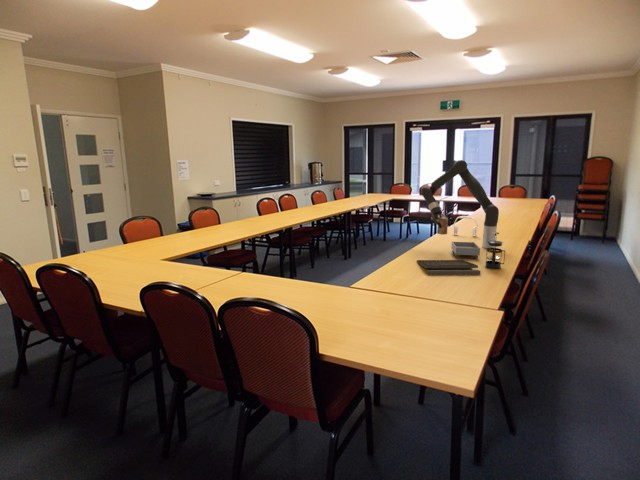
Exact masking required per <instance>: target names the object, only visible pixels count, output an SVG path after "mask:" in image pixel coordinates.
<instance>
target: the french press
mask: <svg viewBox="0 0 640 480" xmlns="http://www.w3.org/2000/svg"><path fill="white" fill-rule="evenodd" d="M493 234H495V241H488V243H489V245H490V246H494V248H486V255H485V266H484V267H485V268H486V269H489V270H500V269H501V268H502V267H501V265H505V262H503V263H502V261H501V260H502V255H503V260H505V258H506V257H505V256H506V250H504V249H502V248H499V247H502V246H503V243H504V242H502V241H501V240H497V238H496V236H497V235H499V234H500V232H497V231H496V232H493ZM495 247H496V248H495ZM497 247H498V248H497ZM503 252H504V253H503ZM488 253H491V255H490V256H487V255H488ZM502 253H503V254H502ZM496 254H500V257H499V256H497V255H496Z"/></svg>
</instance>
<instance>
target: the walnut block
mask: <svg viewBox="0 0 640 480" xmlns="http://www.w3.org/2000/svg"><path fill="white" fill-rule="evenodd" d="M438 219H439V222H440V224H441V226H442V227H441V228H439V227H438V226H437V234H438V235H442V236H443V235H447V234H448V227H449V224H448V222H449V217H448V218H445V217H441V218H438ZM447 226H448V227H447Z"/></svg>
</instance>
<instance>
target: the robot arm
mask: <svg viewBox="0 0 640 480" xmlns="http://www.w3.org/2000/svg"><path fill="white" fill-rule="evenodd" d="M457 175H458V176H459V177H460V178H461V179H462V181H463V183H464V185H465V187H466V188H467V189H468V191H469V192H470V194H471V195H472V196H473V197H474V199H475V200H476V201H477V202H478V203H479V204H480V206H481V208H482V210H483V211H484V212H483V213H485V214H484V215H485V217H484V218H485V219H484V223H483V232H482V244H481V245H482V247H481V248H484V249H487V248H494V246H490V245H489V243H488V241H495V234H493V232H497V226H498V221H499V213H500V210H499V208H498V207H497V206H496V205H495V204H494V203H493V202H492V201H491V199H490V198H489V197H488V195H487V193H486V191H485V189H484V187H483V185H482V184H481V183H480V182H479V180H478V179H477V178H476V177H475V176H474V175H473V174H472V173H471V172H470V170H469V169H468V163H467V162H466V161H465V160H463V159H458V160H455V162H454V163H453V166H451V168H450V169H449V170H448V171H446V172H444V173H443V174H442V175H440V176H439V177H437V178H436V179H435V180H434V181H433V182H431V183H430V187H429V186H423V187H422V188H421V191H420V192H421V195H422V197H423V199H424V200H425V202H426V204H427V207H428V210H429V212H430V214H431V217H430V220H431V221H432V222H433V223H434V225H437V228H438V227H439V228H441V227H442V226H441V224H440V222H439V219H438V218H441V217H445V218H448V219H449V217H448V214H445V215H444V214H443V211H442V209H441V207H440V205H439V204H438V202H437V199H436V198H435V196H434V195H435V193H437V192H438V190H439V189H441V188H442V187H443V186H445V185H446V184H447V183H448V182H449V181H451V180H452V179H453V178H455V177H456V176H457ZM447 228H449V225H448V226H447ZM497 237H498V236H497V235H496V239H497ZM495 248H497V247H495Z"/></svg>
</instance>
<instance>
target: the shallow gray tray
mask: <svg viewBox="0 0 640 480" xmlns="http://www.w3.org/2000/svg"><path fill="white" fill-rule="evenodd" d="M451 251H452V253H453V254H454V255H455V258H456V259H460V258H461V256H472V257H473V259H475V260H477V259H478V258H479V256H481V255H480V254H481V247H479V245H478V244H477V243H476V242H474V241H473V242H472V241H451Z"/></svg>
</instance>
